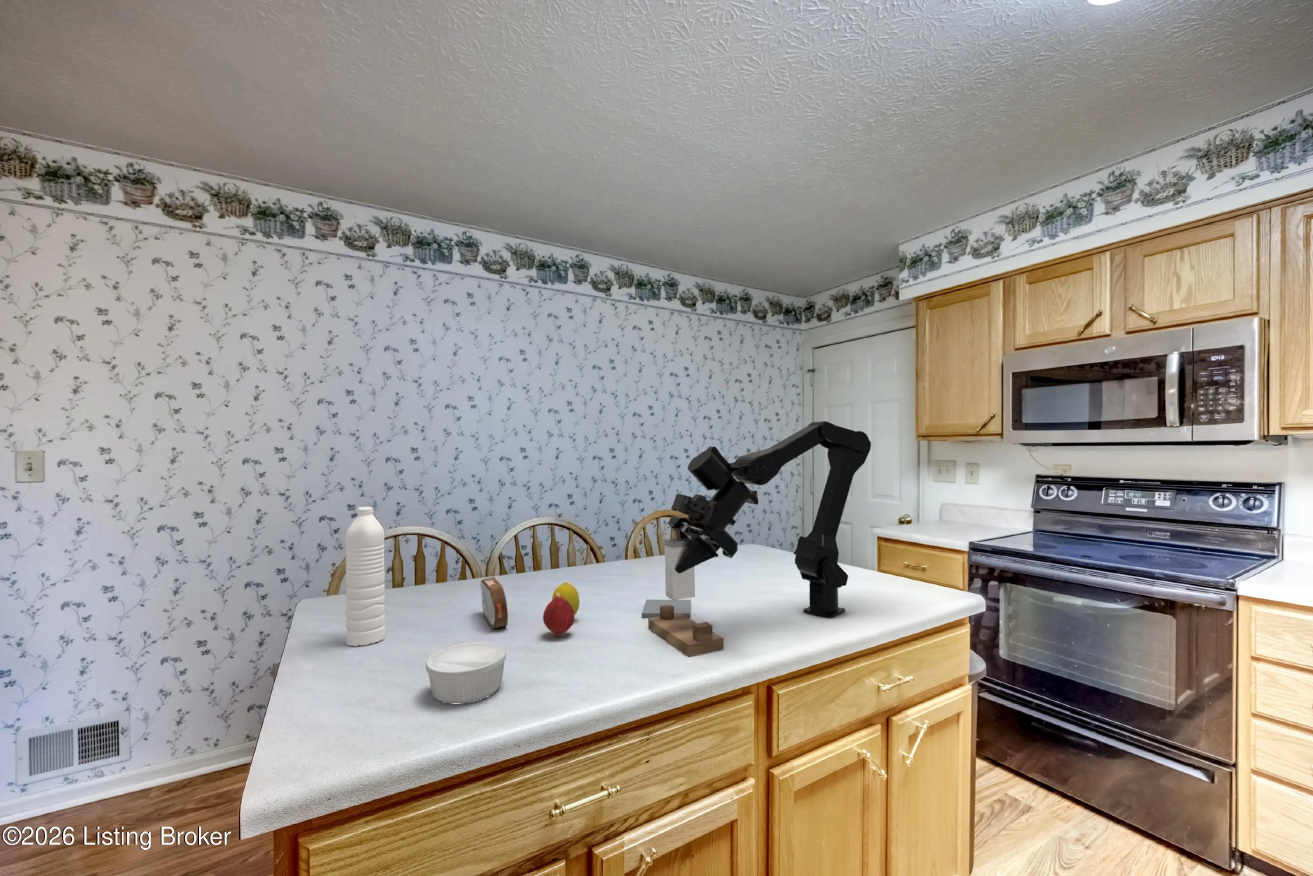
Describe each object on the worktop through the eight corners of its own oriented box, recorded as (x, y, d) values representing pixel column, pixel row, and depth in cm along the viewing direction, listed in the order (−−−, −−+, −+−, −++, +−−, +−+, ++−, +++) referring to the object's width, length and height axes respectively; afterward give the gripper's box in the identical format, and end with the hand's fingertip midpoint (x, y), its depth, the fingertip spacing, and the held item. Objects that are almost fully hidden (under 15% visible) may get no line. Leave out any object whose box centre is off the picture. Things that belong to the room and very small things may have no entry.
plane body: (647, 628, 108) (647, 605, 108) (679, 622, 111) (679, 600, 111) (688, 656, 93) (688, 629, 94) (723, 649, 97) (723, 623, 97)
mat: (690, 604, 124) (690, 599, 124) (690, 618, 114) (690, 613, 114) (646, 604, 125) (646, 599, 125) (641, 618, 115) (641, 613, 115)
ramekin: (426, 716, 75) (426, 676, 75) (425, 683, 85) (425, 648, 85) (512, 699, 79) (511, 662, 79) (500, 670, 89) (500, 637, 89)
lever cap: (687, 592, 106) (686, 537, 106) (694, 597, 103) (693, 540, 103) (665, 595, 104) (664, 539, 104) (672, 600, 101) (671, 542, 101)
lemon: (582, 617, 116) (581, 578, 116) (575, 626, 110) (575, 585, 110) (556, 617, 116) (555, 578, 116) (548, 625, 111) (548, 585, 111)
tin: (509, 631, 108) (508, 588, 108) (492, 634, 106) (492, 590, 106) (494, 611, 121) (493, 572, 121) (479, 613, 120) (478, 574, 120)
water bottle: (346, 638, 105) (345, 506, 105) (384, 632, 108) (383, 503, 108) (345, 653, 97) (344, 510, 98) (387, 646, 100) (385, 508, 101)
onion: (580, 632, 106) (579, 590, 107) (565, 642, 101) (565, 598, 101) (553, 629, 108) (552, 588, 108) (537, 639, 103) (537, 596, 103)
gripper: (675, 476, 114) (626, 534, 109) (721, 481, 97) (665, 550, 92) (710, 512, 117) (663, 570, 112) (760, 523, 100) (707, 592, 95)
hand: (673, 569), depth 103 cm, fingers closed on lever cap, 3 cm apart
